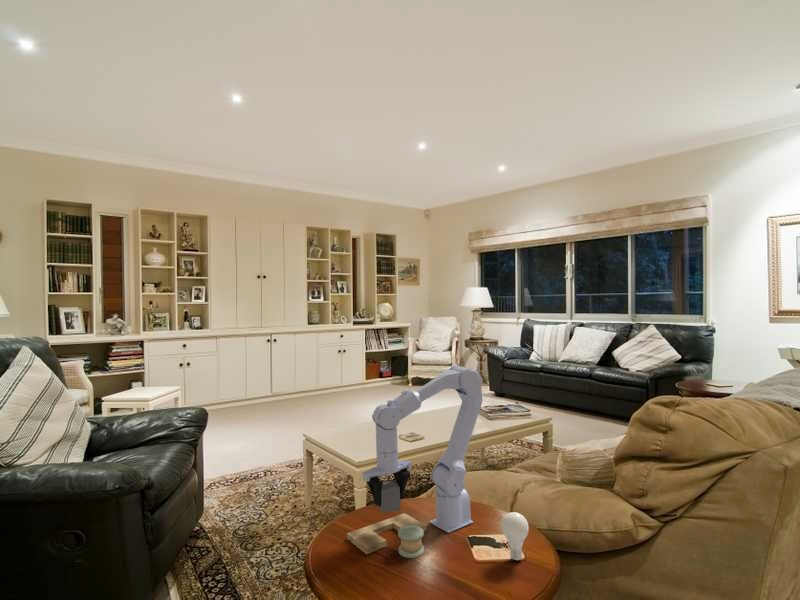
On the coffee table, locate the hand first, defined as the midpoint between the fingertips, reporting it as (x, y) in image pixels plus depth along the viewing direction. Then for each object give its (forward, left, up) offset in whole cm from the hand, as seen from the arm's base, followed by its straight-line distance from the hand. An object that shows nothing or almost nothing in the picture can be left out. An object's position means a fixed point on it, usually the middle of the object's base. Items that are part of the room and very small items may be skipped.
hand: (388, 501), depth 124 cm
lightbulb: (-17, +28, -10) cm, 35 cm away
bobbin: (0, +9, -9) cm, 13 cm away
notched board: (0, -2, -9) cm, 10 cm away
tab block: (0, 0, -2) cm, 2 cm away
